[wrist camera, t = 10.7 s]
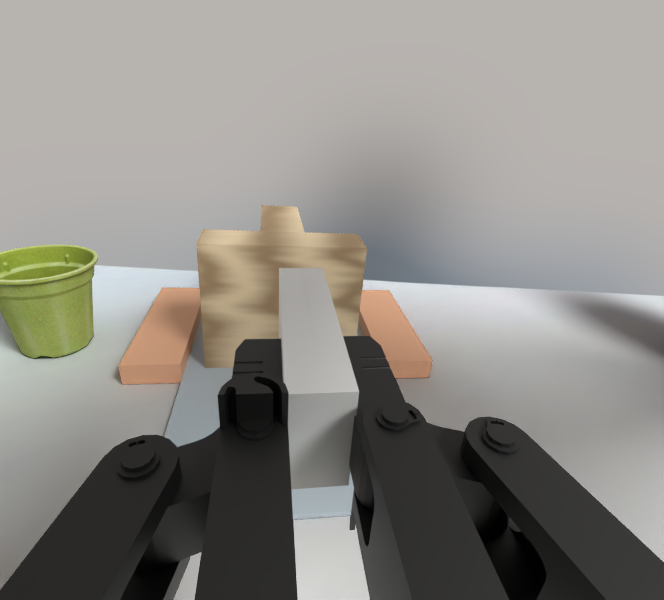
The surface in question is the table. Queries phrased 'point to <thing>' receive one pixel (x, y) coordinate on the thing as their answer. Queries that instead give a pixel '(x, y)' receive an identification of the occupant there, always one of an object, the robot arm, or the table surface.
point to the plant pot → (48, 298)
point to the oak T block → (269, 279)
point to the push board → (205, 383)
